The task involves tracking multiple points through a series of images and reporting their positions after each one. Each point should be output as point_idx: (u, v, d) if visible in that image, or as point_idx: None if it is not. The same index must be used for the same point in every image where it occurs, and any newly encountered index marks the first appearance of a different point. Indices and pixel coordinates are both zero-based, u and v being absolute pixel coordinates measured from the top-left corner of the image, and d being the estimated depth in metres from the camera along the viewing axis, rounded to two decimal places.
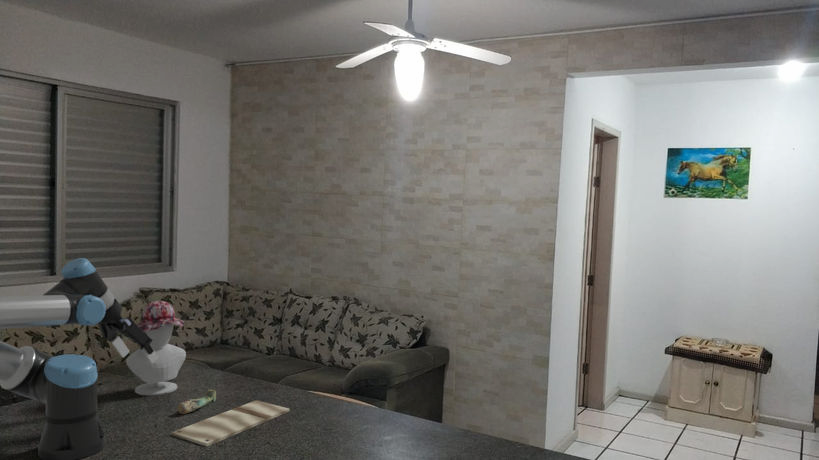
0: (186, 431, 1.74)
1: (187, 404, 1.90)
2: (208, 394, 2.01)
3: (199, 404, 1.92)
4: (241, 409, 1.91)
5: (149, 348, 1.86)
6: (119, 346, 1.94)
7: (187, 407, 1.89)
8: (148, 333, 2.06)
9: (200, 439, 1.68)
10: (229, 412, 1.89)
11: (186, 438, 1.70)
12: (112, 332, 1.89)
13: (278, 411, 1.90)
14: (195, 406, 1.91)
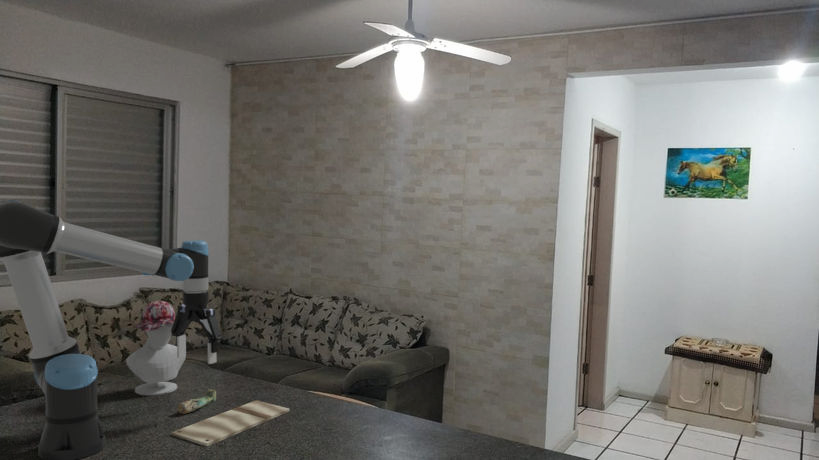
0: (186, 431, 1.74)
1: (187, 404, 1.90)
2: (208, 394, 2.01)
3: (200, 404, 1.93)
4: (241, 409, 1.91)
5: (215, 346, 1.90)
6: (181, 344, 1.97)
7: (187, 407, 1.89)
8: (148, 333, 2.06)
9: (200, 439, 1.68)
10: (229, 412, 1.89)
11: (186, 438, 1.70)
12: (185, 325, 1.96)
13: (278, 411, 1.90)
14: (195, 406, 1.91)
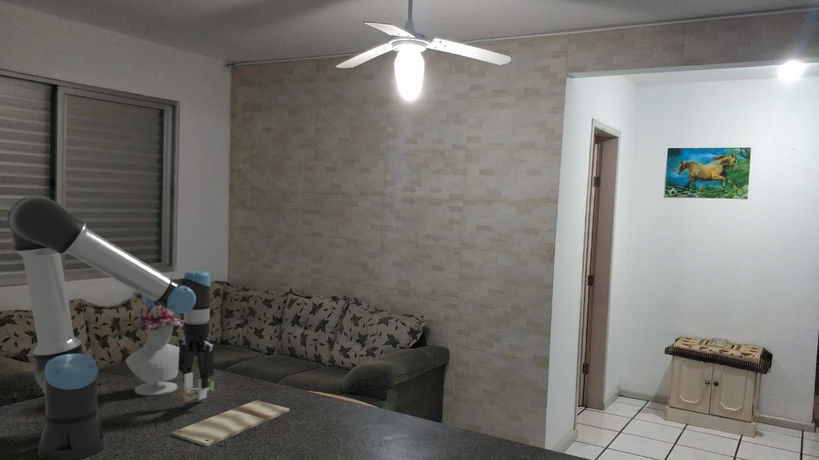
0: (186, 431, 1.74)
1: (186, 393, 1.90)
2: None
3: None
4: (241, 409, 1.91)
5: (205, 382, 1.92)
6: (188, 382, 1.96)
7: (186, 396, 1.89)
8: (148, 333, 2.06)
9: (200, 439, 1.68)
10: (229, 412, 1.89)
11: (186, 438, 1.70)
12: (189, 358, 1.95)
13: (278, 411, 1.90)
14: (194, 395, 1.91)
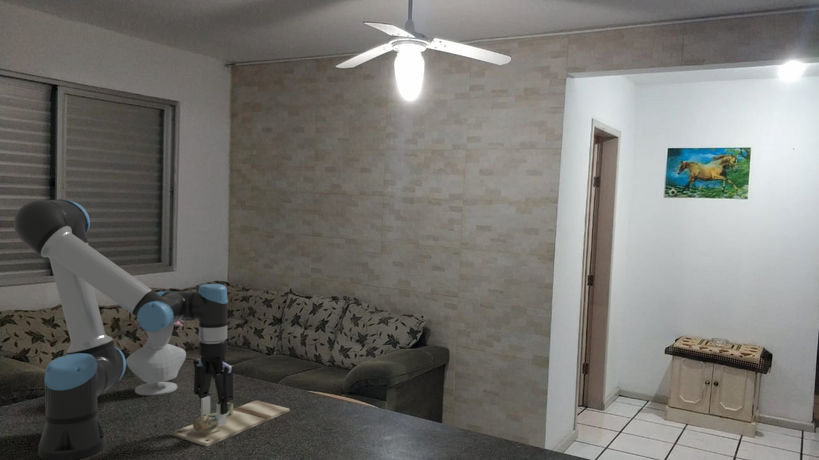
0: (186, 431, 1.74)
1: (204, 420, 1.71)
2: None
3: None
4: (241, 409, 1.91)
5: (225, 407, 1.74)
6: (205, 407, 1.77)
7: (204, 423, 1.70)
8: (148, 333, 2.06)
9: (200, 439, 1.68)
10: None
11: (186, 438, 1.70)
12: (206, 381, 1.76)
13: (278, 411, 1.90)
14: (212, 422, 1.73)
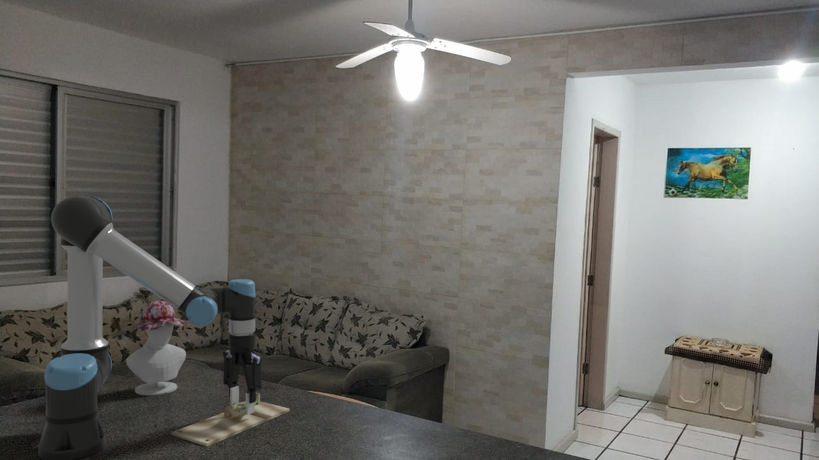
0: (186, 431, 1.74)
1: (234, 408, 1.80)
2: None
3: None
4: None
5: (253, 396, 1.83)
6: (234, 396, 1.86)
7: (234, 411, 1.79)
8: (148, 333, 2.06)
9: (200, 439, 1.68)
10: None
11: (186, 438, 1.70)
12: (235, 372, 1.85)
13: (278, 411, 1.90)
14: (242, 410, 1.82)
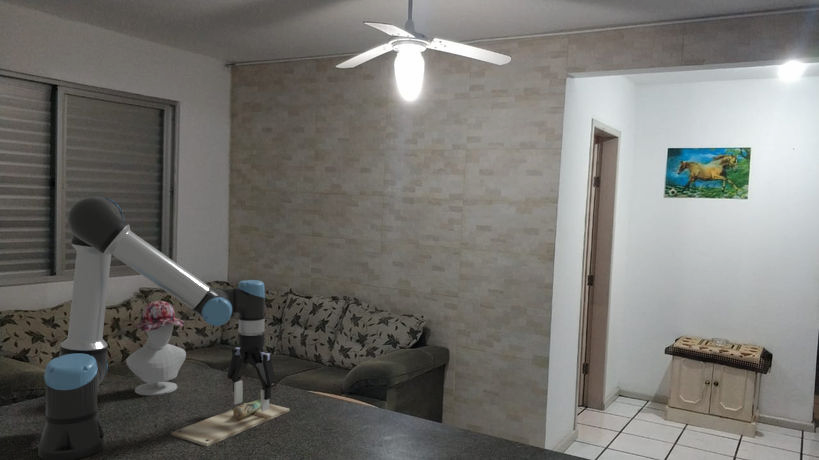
0: (186, 431, 1.74)
1: (243, 408, 1.84)
2: None
3: (255, 407, 1.87)
4: None
5: (268, 393, 1.85)
6: (238, 390, 1.91)
7: (243, 411, 1.83)
8: (148, 333, 2.06)
9: (200, 439, 1.68)
10: (229, 412, 1.89)
11: (186, 438, 1.70)
12: (241, 369, 1.90)
13: (278, 411, 1.90)
14: (251, 410, 1.85)
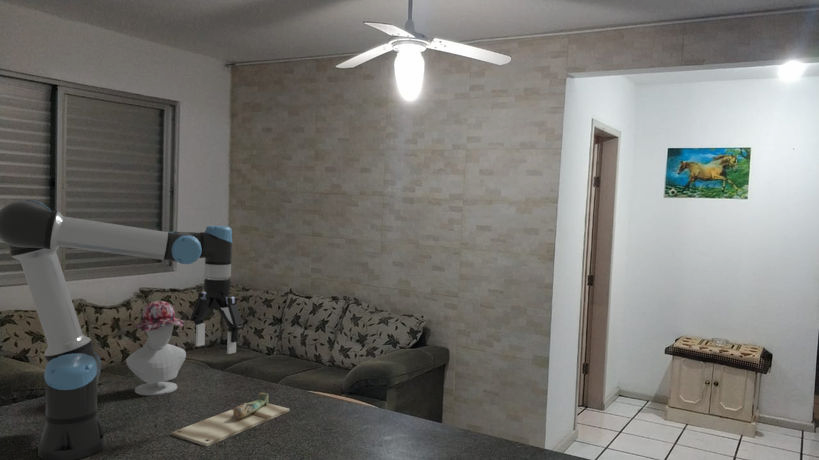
0: (186, 431, 1.74)
1: (243, 408, 1.84)
2: (261, 397, 1.95)
3: (255, 407, 1.87)
4: None
5: (235, 335, 1.83)
6: (200, 333, 1.91)
7: (243, 411, 1.83)
8: (148, 333, 2.06)
9: (200, 439, 1.68)
10: (229, 412, 1.89)
11: (186, 438, 1.70)
12: (205, 313, 1.89)
13: (278, 411, 1.90)
14: (251, 410, 1.85)
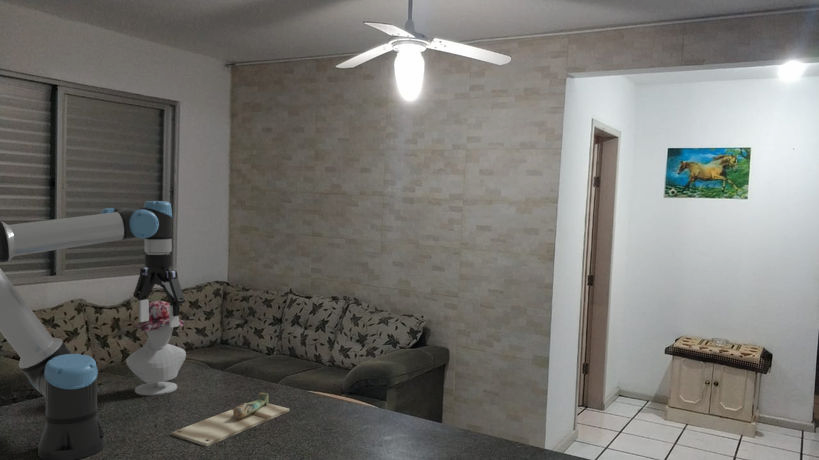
0: (186, 431, 1.74)
1: (243, 408, 1.84)
2: (261, 397, 1.95)
3: (255, 407, 1.87)
4: None
5: (177, 309, 1.84)
6: (143, 308, 1.92)
7: (243, 411, 1.83)
8: (148, 333, 2.06)
9: (200, 439, 1.68)
10: (229, 412, 1.89)
11: (186, 438, 1.70)
12: (147, 288, 1.90)
13: (278, 411, 1.90)
14: (251, 410, 1.85)
